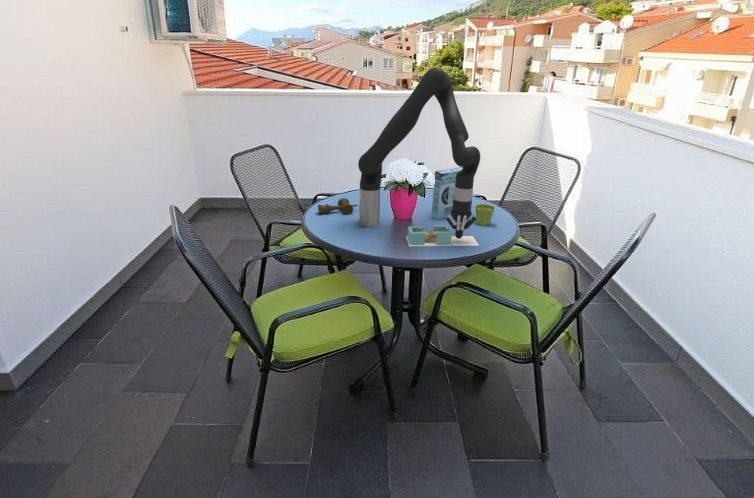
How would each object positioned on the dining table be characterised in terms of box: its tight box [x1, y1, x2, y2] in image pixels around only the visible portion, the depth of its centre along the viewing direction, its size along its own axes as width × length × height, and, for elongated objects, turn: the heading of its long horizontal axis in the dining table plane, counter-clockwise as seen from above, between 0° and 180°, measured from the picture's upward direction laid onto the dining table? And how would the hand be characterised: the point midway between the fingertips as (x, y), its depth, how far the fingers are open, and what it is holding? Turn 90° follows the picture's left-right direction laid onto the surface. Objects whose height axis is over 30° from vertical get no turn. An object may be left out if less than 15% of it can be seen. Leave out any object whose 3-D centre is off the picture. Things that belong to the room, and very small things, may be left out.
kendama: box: [317, 197, 359, 216], centre depth 204 cm, size 6×10×20 cm
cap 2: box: [432, 225, 453, 244], centre depth 171 cm, size 6×8×5 cm
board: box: [405, 235, 480, 247], centre depth 173 cm, size 29×10×1 cm, turn 94°
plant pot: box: [474, 203, 496, 226], centre depth 192 cm, size 9×9×9 cm
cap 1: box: [407, 226, 426, 245], centre depth 171 cm, size 6×8×5 cm
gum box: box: [430, 166, 463, 220], centre depth 200 cm, size 20×5×23 cm, turn 123°
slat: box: [424, 231, 445, 243], centre depth 171 cm, size 13×4×4 cm, turn 94°
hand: (458, 237), depth 172 cm, fingers closed
